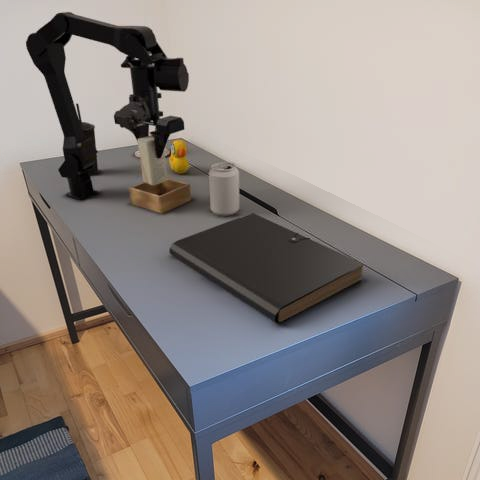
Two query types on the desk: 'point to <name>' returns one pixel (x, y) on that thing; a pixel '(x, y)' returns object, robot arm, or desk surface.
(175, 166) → the duckling
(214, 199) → the can
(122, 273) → the desk surface
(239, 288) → the black book
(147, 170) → the box
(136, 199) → the crate
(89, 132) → the drinking cup
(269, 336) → the desk surface
